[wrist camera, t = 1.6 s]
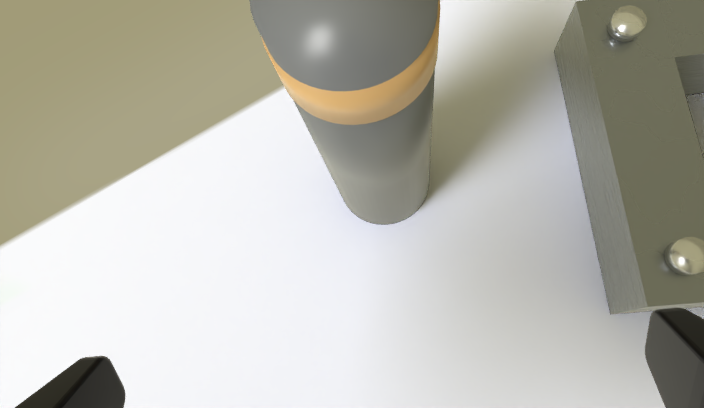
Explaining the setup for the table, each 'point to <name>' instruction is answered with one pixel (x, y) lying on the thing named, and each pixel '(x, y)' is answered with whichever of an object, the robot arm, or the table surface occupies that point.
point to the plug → (361, 92)
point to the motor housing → (639, 144)
